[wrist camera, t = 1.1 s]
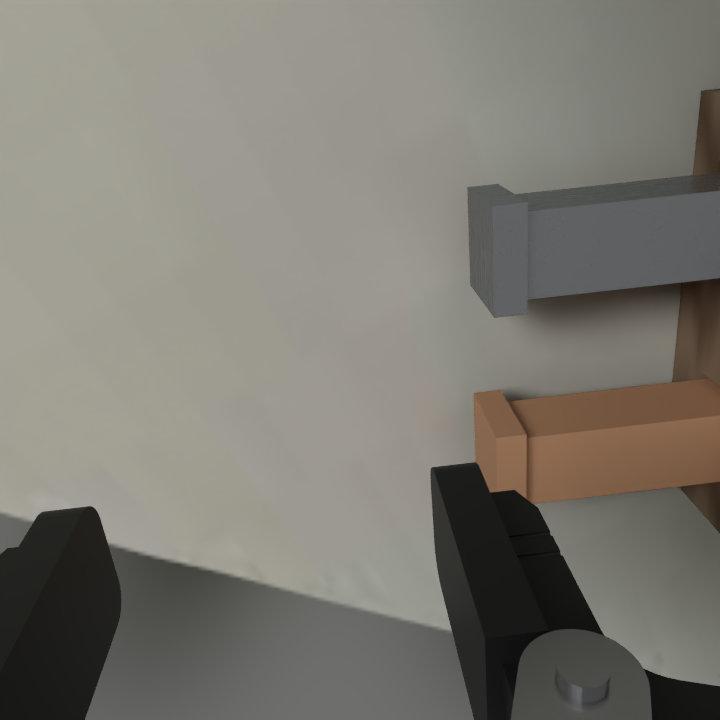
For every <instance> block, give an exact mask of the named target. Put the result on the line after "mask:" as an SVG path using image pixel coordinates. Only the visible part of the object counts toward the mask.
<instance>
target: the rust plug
mask: <svg viewBox="0 0 720 720" xmlns="http://www.w3.org/2000/svg"><path fill="white" fill-rule="evenodd" d="M474 422H475V455H476V463H477V464H478V465H479V467H480V469H481V472H482V474H483V477H484V479H485V481H486V484H487V486H488V488H489V491H490V493H491V492H500V491H508V490H516V491H517V492H518V493H519V494H521V495H522V496H523V497H525V498H526V499H527V500H528V501H530V502H531V503H532V504H536V503H544V502H553V501H561V500H570V499H578V498H586V497H595V496H603V495H612V494H620V493H629V492H637V491H646V490H654V489H662V488H671V487H679V486H688V485H696V484H705V483H713V482H720V387H719V386H718V385H717V384H715V383H714V382H713V381H712V380H710V379H709V378H708V379H699V380H690V381H682V382H673V383H664V384H655V385H647V386H638V387H629V388H621V389H612V390H603V391H595V392H586V393H577V394H569V395H560V396H551V397H542V398H534V399H525V400H516V401H508V402H507V400H506V399H505V397H504V395H503V394H502V392H501V390H496V391H487V392H478V393H474Z"/></svg>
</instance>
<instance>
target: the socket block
mask: <svg viewBox="0 0 720 720" xmlns="http://www.w3.org/2000/svg"><path fill="white" fill-rule="evenodd" d="M718 172H720V89H714V90H704V91H701V101H700V111H699V121H698V131H697V141H696V151H695V161H694V171H693V175H700V174H709V173H718ZM708 378H709V379H710V380H712V381H713V382H714V383H715V384H717V385H718V386H719V387H720V278H717V279H708V280H699V281H690V282H682V290H681V300H680V310H679V320H678V330H677V340H676V350H675V360H674V370H673V380H672V383H673V382H682V381H690V380H699V379H708ZM679 487H680V488H681V490H682V491H683V492H684V493H685V494H686V495H687V496H688V498H689V499H690V500H691V501H692V502H693V503H694V504H695V506H696V507H697V508H698V509H699V510H700V511H701V512H702V513H703V515H704V516H705V517H706V518H707V519H708V520H709V521H710V523H711V524H712V525H713V526H714V527H715V528H716V529H717V531H718V532H719V533H720V482H713V483H705V484H696V485H688V486H679Z"/></svg>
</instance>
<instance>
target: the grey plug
mask: <svg viewBox="0 0 720 720" xmlns="http://www.w3.org/2000/svg"><path fill="white" fill-rule="evenodd" d="M467 190H468V223H469V257H470V285H471V287H472V288H473V289H474V291H475V292H476V294H477V295H478V296H479V298H480V299H481V300H482V302H483V303H484V304H485V306H486V307H487V308H488V310H489V311H490V313H491V314H492V315H493V317H494V318H496V317H505V316H514V315H523V314H527V300H529V299H538V298H547V297H556V296H565V295H574V294H583V293H592V292H601V291H609V290H618V289H627V288H636V287H645V286H654V285H663V284H672V283H681V282H690V281H699V280H708V279H717V278H720V172H718V173H709V174H700V175H690V176H681V177H672V178H663V179H653V180H644V181H635V182H626V183H616V184H607V185H598V186H588V187H579V188H570V189H561V190H551V191H542V192H533V193H524V194H513V193H512V192H510V191H509V190H507V189H505V188H504V187H502V186H500V185H499V184H492V185H483V186H474V187H467Z"/></svg>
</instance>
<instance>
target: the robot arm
mask: <svg viewBox="0 0 720 720" xmlns="http://www.w3.org/2000/svg"><path fill="white" fill-rule="evenodd" d="M431 493H432V509H433V525H434V542H435V553H436V562H437V568H438V574H439V580H440V584H441V589H442V593H443V597H444V601H445V605H446V609H447V613H448V617H449V621H450V625H451V629H452V633H453V636H454V641H455V645H456V649H457V653H458V657H459V660H460V665H461V668H462V672H463V677H464V681H465V685H466V688H467V692H468V696H469V700H470V704H471V709H472V712H473V717H474V720H720V686H713V685H707V684H700V683H694V682H687V681H681V680H676V679H671V678H667V677H664V676H661V675H657V674H655V673H652V672H650V671H648V670H645V669H643V667H642V666H641V664H640V663H639V661H638V660H637V659H636V658H635V657H634V656H633V654H631V653H630V652H629V651H628V650H627V649H626V648H625V647H623V646H622V645H620V644H619V643H617V642H616V641H614V640H612V639H610V638H608V637H606V636H604V634H603V633H602V631H601V629H600V627H599V625H598V623H597V621H596V620H595V618H594V616H593V614H592V612H591V610H590V608H589V606H588V604H587V602H586V600H585V598H584V596H583V594H582V592H581V590H580V589H579V587H578V585H577V583H576V581H575V579H574V577H573V575H572V573H571V571H570V569H569V567H568V565H567V563H566V561H565V559H564V558H563V556H561V555H560V550H559V548H558V546H557V544H556V542H555V540H554V538H553V536H551V535H550V530H549V528H548V526H547V525H546V523H545V521H544V519H543V517H542V515H541V513H540V511H539V509H538V508H537V507H536V506H535V505H534V504H532V503H531V502H530V501H528V500H527V499H526V498H525V497H523V496H522V495H521V494H519V493H518V492H517V491H516V490H508V491H500V492H491V493H490V491H489V488H488V486H487V484H486V481H485V479H484V477H483V474H482V472H481V469H480V467H479V465H478V464H477V463H476V462H474V463H466V464H457V465H449V466H440V467H432V468H431ZM120 612H121V590H120V584H119V580H118V576H117V573H116V570H115V566H114V563H113V560H112V556H111V553H110V550H109V546H108V543H107V540H106V536H105V533H104V530H103V527H102V523H101V520H100V517H99V515H98V513H97V511H96V510H95V509H94V508H93V507H91V506H89V507H80V508H72V509H63V510H54V511H46V512H42V513H40V514H39V515H38V516H37V518H36V519H35V521H34V523H33V524H32V526H31V528H30V529H29V531H28V532H27V534H26V536H25V537H24V539H23V541H22V542H21V544H20V545H19V547H15V548H7V549H6V550H5V551H4V552H3V553H1V554H0V720H85V717H86V714H87V711H88V709H89V706H90V703H91V700H92V697H93V694H94V692H95V689H96V686H97V683H98V680H99V677H100V674H101V671H102V669H103V666H104V663H105V660H106V657H107V654H108V652H109V649H110V646H111V643H112V640H113V637H114V634H115V631H116V629H117V626H118V622H119V618H120Z"/></svg>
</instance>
